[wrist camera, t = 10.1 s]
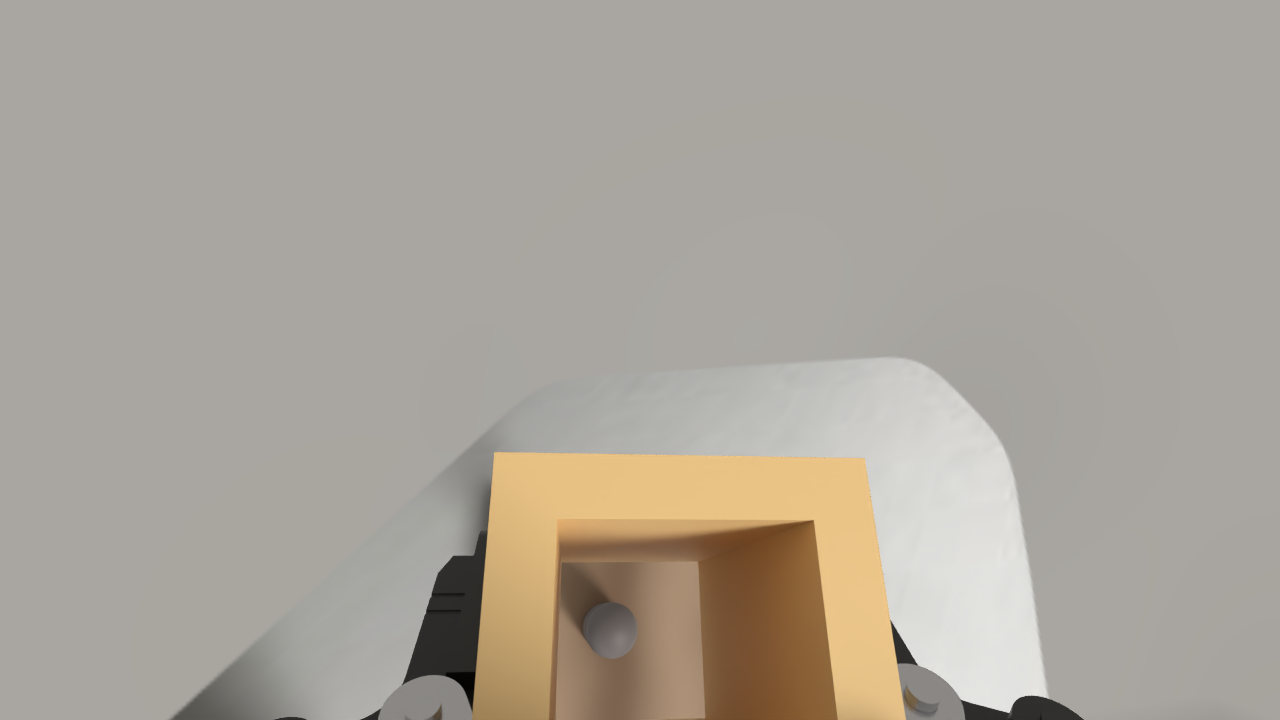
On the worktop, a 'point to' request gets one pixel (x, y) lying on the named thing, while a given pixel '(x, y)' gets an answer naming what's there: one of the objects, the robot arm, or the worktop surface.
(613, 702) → the post stand
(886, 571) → the worktop surface
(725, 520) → the sleeve
